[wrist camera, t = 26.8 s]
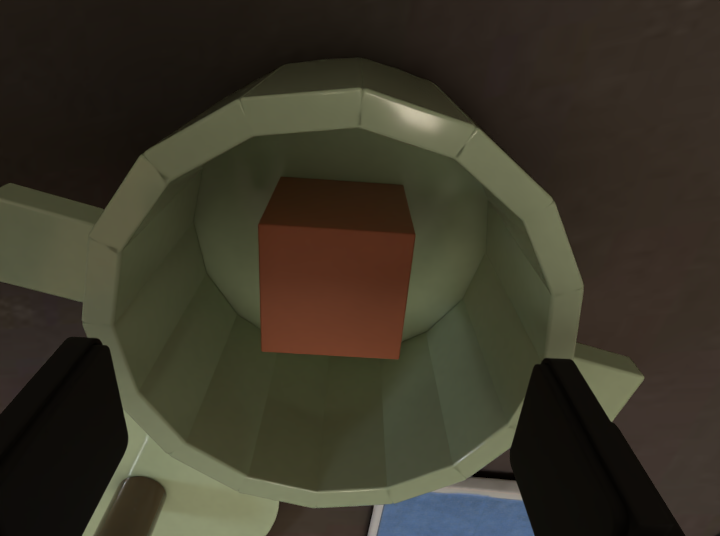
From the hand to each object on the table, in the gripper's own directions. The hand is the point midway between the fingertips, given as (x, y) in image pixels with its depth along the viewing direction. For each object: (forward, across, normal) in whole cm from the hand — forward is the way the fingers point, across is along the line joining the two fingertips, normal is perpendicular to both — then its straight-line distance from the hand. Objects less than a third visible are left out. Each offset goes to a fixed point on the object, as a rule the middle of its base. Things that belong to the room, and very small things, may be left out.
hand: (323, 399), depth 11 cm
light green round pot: (+10, 0, 0) cm, 10 cm away
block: (+9, 0, 0) cm, 9 cm away
